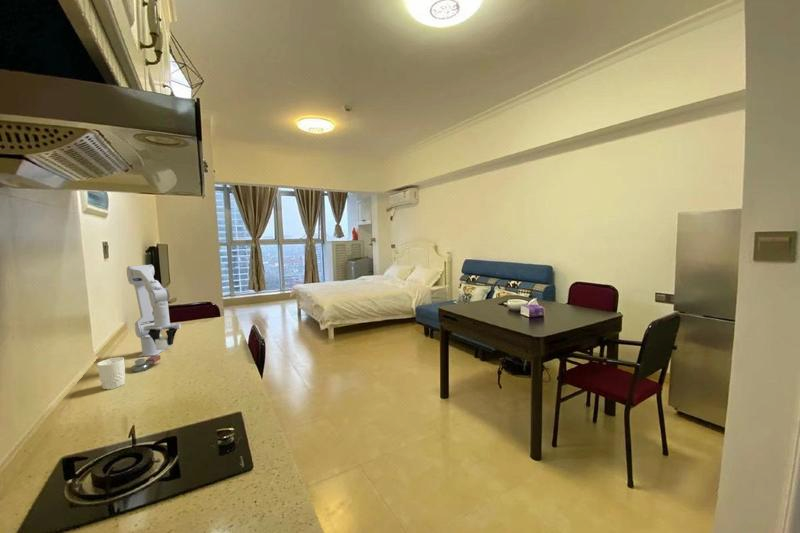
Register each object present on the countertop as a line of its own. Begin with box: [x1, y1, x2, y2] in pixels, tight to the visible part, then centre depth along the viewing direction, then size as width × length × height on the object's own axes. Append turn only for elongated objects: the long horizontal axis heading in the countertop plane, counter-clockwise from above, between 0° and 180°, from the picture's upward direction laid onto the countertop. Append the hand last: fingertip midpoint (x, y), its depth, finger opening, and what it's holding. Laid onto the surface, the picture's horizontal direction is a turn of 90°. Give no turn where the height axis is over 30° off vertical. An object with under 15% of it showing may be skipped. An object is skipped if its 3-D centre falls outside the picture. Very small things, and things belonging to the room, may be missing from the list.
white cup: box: [97, 357, 126, 390], centre depth 127 cm, size 8×8×10 cm
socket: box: [155, 335, 174, 351], centre depth 149 cm, size 5×5×5 cm
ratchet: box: [130, 354, 161, 374], centre depth 147 cm, size 15×6×4 cm, turn 9°
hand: (164, 344), depth 149 cm, fingers closed on socket, 5 cm apart
